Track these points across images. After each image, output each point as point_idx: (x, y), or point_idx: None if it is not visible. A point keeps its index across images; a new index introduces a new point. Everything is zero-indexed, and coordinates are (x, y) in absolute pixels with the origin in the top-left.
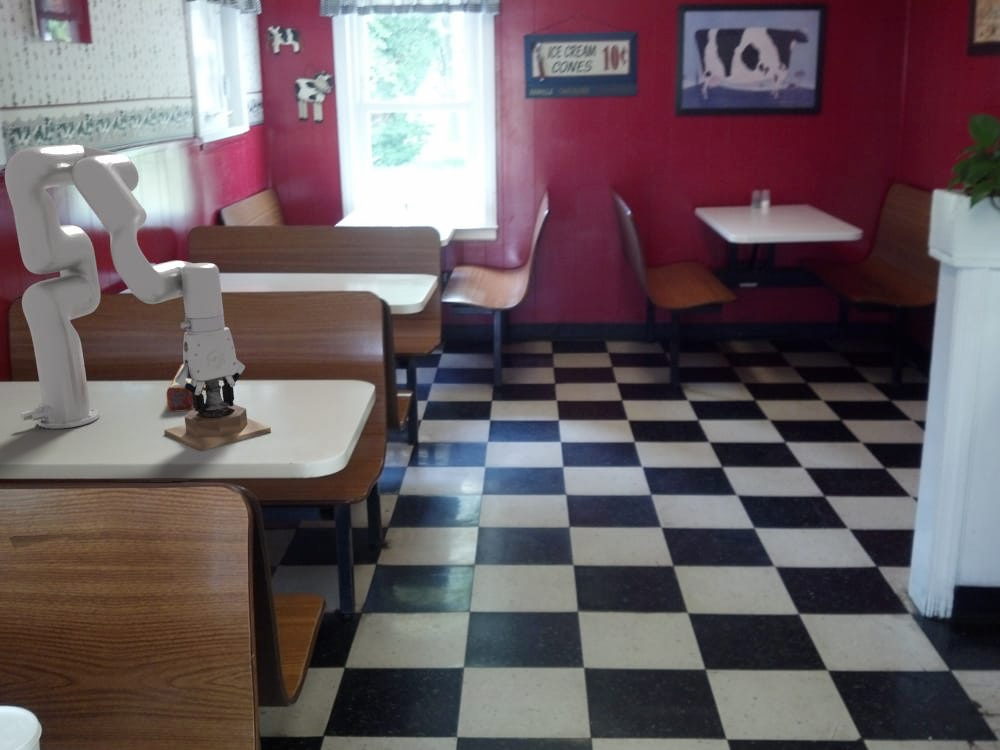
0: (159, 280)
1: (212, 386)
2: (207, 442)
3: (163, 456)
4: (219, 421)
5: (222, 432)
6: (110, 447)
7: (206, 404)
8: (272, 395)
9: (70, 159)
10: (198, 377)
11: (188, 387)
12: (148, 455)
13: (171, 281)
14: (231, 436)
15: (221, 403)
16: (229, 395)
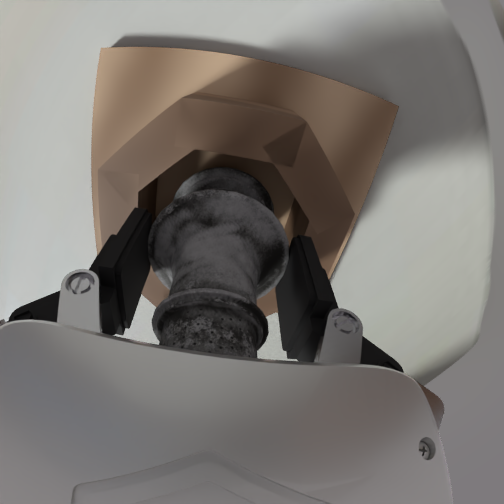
0: None
1: (235, 326)
2: (361, 110)
3: (450, 177)
4: (303, 119)
5: (284, 109)
6: (411, 319)
7: (263, 271)
8: (5, 306)
9: None
10: (415, 397)
11: (397, 363)
12: (449, 217)
13: None
14: (264, 77)
15: (203, 225)
16: (133, 242)
